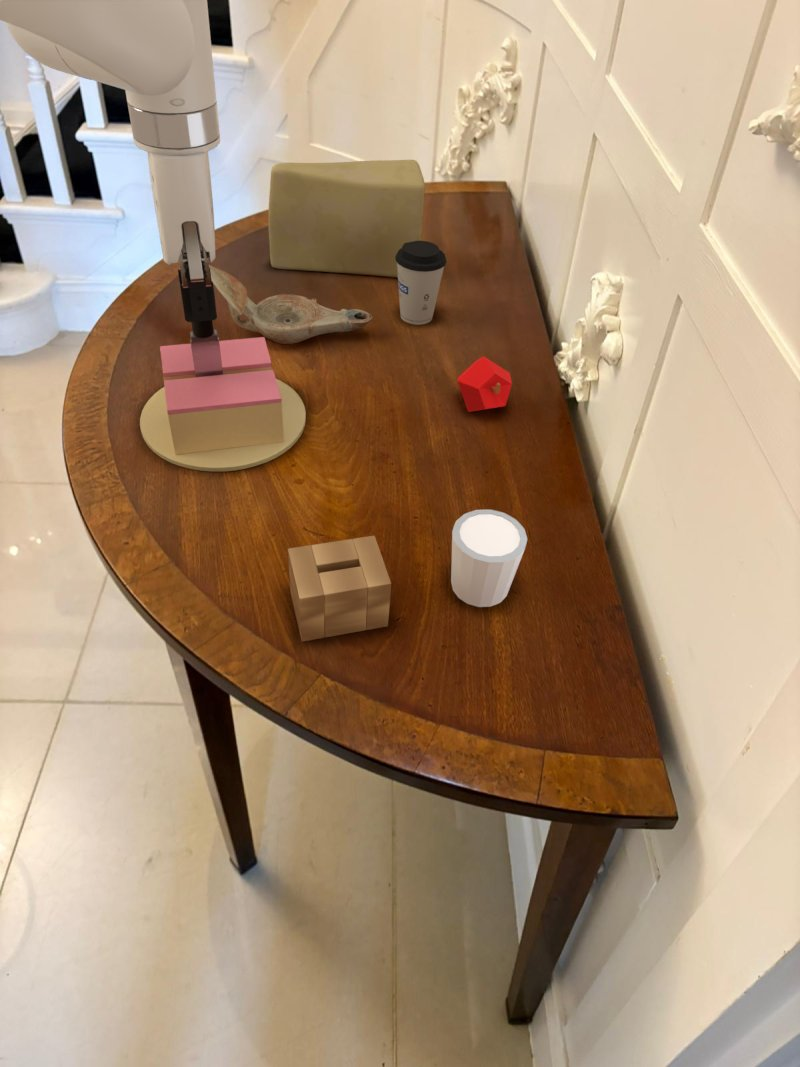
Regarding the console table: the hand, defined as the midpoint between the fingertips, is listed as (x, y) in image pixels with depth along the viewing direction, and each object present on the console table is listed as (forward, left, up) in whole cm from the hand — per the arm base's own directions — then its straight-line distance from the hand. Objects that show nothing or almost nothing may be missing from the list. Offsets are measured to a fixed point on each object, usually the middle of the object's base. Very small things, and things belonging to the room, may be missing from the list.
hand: (199, 311), depth 82 cm
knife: (0, 0, -12) cm, 12 cm away
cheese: (+23, +35, -14) cm, 44 cm away
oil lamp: (+12, +17, -14) cm, 25 cm away
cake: (+1, 0, -14) cm, 14 cm away
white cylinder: (+22, -31, -14) cm, 41 cm away
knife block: (+8, -31, -14) cm, 35 cm away
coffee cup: (+30, +19, -14) cm, 39 cm away
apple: (+32, -3, -14) cm, 35 cm away
